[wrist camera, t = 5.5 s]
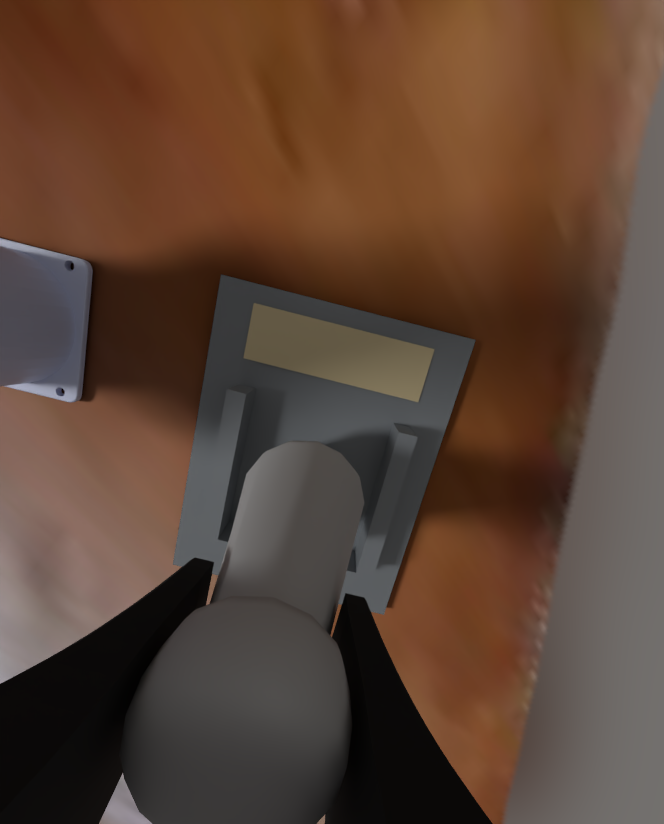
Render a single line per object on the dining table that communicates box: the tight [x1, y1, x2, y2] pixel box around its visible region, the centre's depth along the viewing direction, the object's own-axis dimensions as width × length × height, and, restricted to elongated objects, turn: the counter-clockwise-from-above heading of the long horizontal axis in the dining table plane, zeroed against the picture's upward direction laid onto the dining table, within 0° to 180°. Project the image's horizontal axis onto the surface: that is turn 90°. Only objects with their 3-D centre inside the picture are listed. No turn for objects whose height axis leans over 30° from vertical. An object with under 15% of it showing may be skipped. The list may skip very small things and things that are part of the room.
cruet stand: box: [173, 275, 476, 614], centre depth 19 cm, size 14×18×3 cm
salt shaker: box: [119, 441, 364, 824], centre depth 12 cm, size 6×6×13 cm
